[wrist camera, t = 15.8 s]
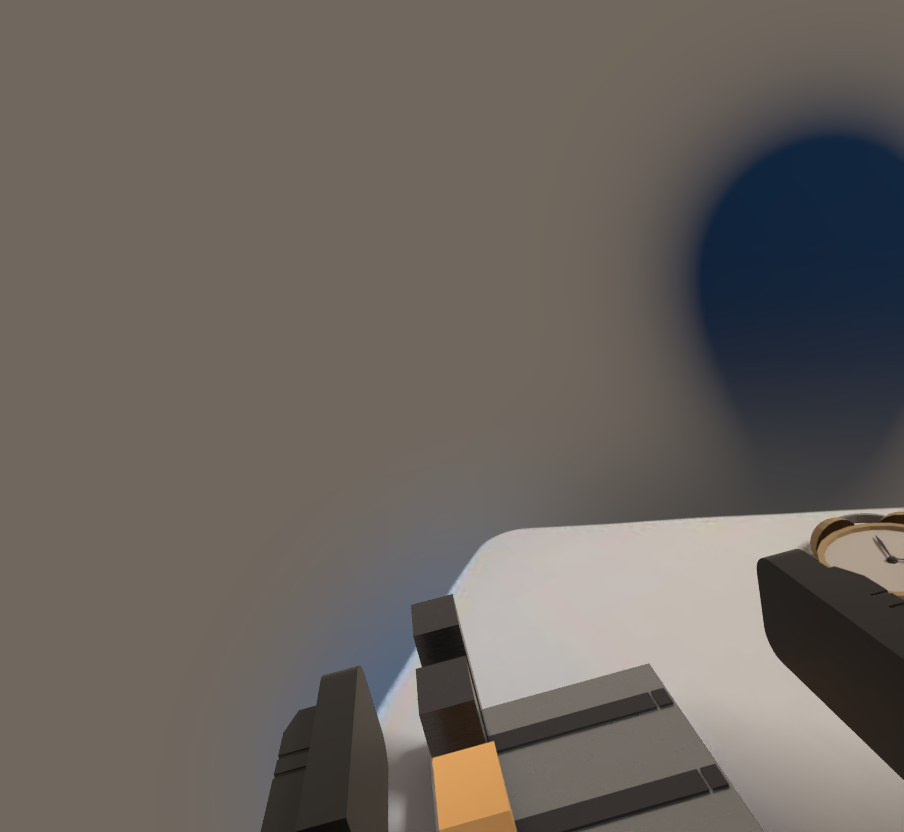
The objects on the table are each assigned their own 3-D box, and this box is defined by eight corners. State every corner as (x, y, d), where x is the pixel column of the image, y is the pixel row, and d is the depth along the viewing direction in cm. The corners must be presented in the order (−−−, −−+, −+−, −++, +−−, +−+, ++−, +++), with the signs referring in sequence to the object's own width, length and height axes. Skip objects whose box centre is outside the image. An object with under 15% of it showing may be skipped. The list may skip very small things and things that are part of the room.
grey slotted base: (472, 1143, 27) (392, 893, 24) (434, 751, 49) (390, 596, 46) (869, 1021, 28) (841, 764, 25) (653, 690, 50) (625, 534, 47)
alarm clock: (841, 603, 51) (791, 499, 64) (842, 648, 53) (794, 538, 66) (1009, 593, 47) (920, 485, 61) (1004, 642, 49) (919, 527, 62)
